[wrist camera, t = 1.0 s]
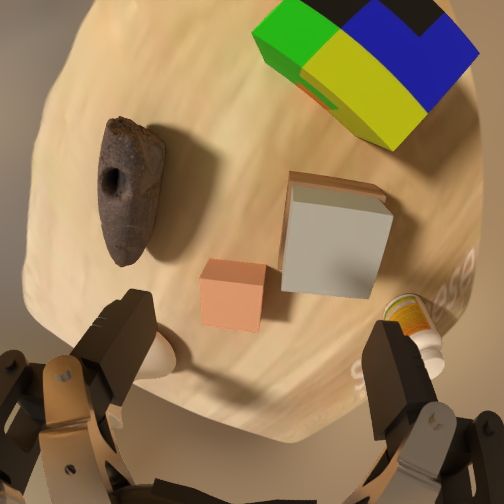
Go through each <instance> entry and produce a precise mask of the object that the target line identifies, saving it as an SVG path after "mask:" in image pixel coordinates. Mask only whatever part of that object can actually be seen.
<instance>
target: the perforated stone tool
mask: <svg viewBox="0 0 504 504" xmlns="http://www.w3.org/2000/svg"><path fill="white" fill-rule="evenodd" d="M164 161H165V147H164V141H163V140H161V139H160V138H158V136H157V135H155V134H153V133H152V132H150V131H149V130H147V129H145V128H144V127H143V126H141V125H137V124H136V123H135V122H133V121H132V120H131V119H127V118H124V117H121V116H119V117H118V118H116V119H114V118H112V119H109V120H108V121H107V124H106V128H105V132H104V136H103V141H102V145H101V151H100V157H99V166H98V206H99V214H100V219H101V222H102V225H101V226H102V231H103V236H104V239H105V243H106V246H107V249H108V251H109V254H110V256H111V257H112V259H113V260H114V261H115V263H116V264H117V265H118V266H120V267H124V266H127V265H132V264H134V263H135V262H136V261H137V260H138V259H139V258H140V256H141V255H142V253H143V251H144V249H145V247H146V245H147V243H148V241H149V239H150V236H151V233H152V230H153V226H154V222H155V217H156V212H157V206H158V199H159V193H160V187H161V175H162V172H163V168H164Z"/></svg>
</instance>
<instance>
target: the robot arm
mask: <svg viewBox="0 0 504 504" xmlns="http://www.w3.org/2000/svg"><path fill="white" fill-rule="evenodd" d="M156 333H157V321H156V316H155V310H154V303H153V297H152V294H151V293H150V292H148V291H142V290H137V289H129V290H128V291H127V293H126V294H125V295H124V297H123V298H122V299H121V300H115V301H114V302H112V303H110V304H109V305H107V306H106V307H105V308H104V309H103V311H102V312H101V313H100V314H99V316H98V318H96V320H95V321H94V322H93V323H92V326H90V327H89V329H88V330H87V331H86V333H85V334H84V335H83V337H82V338H81V340H80V341H79V342H78V344H77V345H76V346H75V348H74V349H73V351H72V352H71V353H70V354H69V355H60V356H57V357H54V358H53V359H51V360H50V361H49V362H48V363H47V364H37V363H28V361H27V359H26V358H25V356H24V354H23V353H22V352H20V351H18V350H10V351H6V352H5V353H3V354H2V355H1V356H0V504H26V503H25V500H24V498H23V494H24V492H25V489H26V486H27V483H28V481H29V478H30V476H31V473H32V471H33V468H34V465H35V463H36V461H37V459H38V456H39V454H40V452H41V455H42V461H43V467H44V471H45V476H46V481H47V485H48V489H49V493H50V497H51V501H52V504H231V503H228V502H225V501H223V500H220V499H218V498H215V497H213V496H210V495H208V494H206V493H203V492H201V491H199V490H197V489H194V488H191V487H187V486H182V485H179V484H174V483H170V482H167V481H163V480H160V479H157V478H155V481H154V484H139V485H135V483H134V481H133V478H132V476H131V474H130V472H129V470H128V468H127V466H126V464H125V463H124V461H123V459H122V457H121V454H120V451H119V448H118V445H117V443H116V439H115V436H114V433H113V429H112V426H111V423H110V419H109V416H108V413H107V409H108V407H109V405H110V404H113V405H116V406H119V407H121V406H122V404H123V402H124V400H125V398H126V396H127V393H128V391H129V389H130V387H131V385H132V383H133V381H134V379H135V377H136V375H137V373H138V371H139V369H140V367H141V365H142V363H143V361H144V359H145V357H146V355H147V353H148V351H149V349H150V347H151V346H152V344H153V342H154V340H155V337H156ZM421 357H422V356H421V353H420V351H419V349H418V346H417V345H416V343H415V342H414V341H413V340H412V339H411V338H410V337H409V336H408V335H404V333H403V331H402V328H401V326H400V324H399V322H398V321H388V320H378V321H377V322H376V323H375V325H374V327H373V330H372V332H371V334H370V336H369V339H368V341H367V343H366V345H365V348H364V350H363V353H362V361H361V362H362V370H363V375H364V380H365V385H366V391H367V396H368V402H369V407H370V414H371V420H372V426H373V432H374V440H375V441H377V440H386V443H387V446H386V447H385V448H384V449H383V451H382V453H381V454H380V456H379V457H378V459H377V460H376V462H375V463H374V465H373V467H372V468H371V469H370V471H369V472H368V474H367V475H366V477H365V478H364V480H363V481H362V482H361V484H360V485H359V486H358V488H357V489H356V490H355V491H354V492H353V493H352V494H351V495H350V496H349V497H348V498H347V499H346V500H345V501H344V502H343V503H342V504H434V502H435V504H504V424H503V422H502V420H501V418H500V417H499V416H498V415H497V414H496V413H494V412H492V411H484V412H482V413H480V414H479V415H478V416H477V417H476V418H475V419H474V420H472V419H466V418H459V417H456V416H455V414H454V412H453V410H452V409H451V408H450V407H449V406H448V405H446V404H444V403H442V402H438V400H437V397H436V394H435V391H434V388H433V385H432V383H431V380H430V377H429V374H428V371H427V369H426V368H425V364H424V361H423V359H421ZM16 403H18V404H19V405H20V406H21V407H20V409H19V411H18V413H17V414H16V416H15V418H14V420H13V422H12V424H11V425H10V427H9V429H8V432H7V433H6V434H5V432H4V426H5V423H6V421H7V419H8V417H9V415H10V414H11V412H12V410H13V408H14V406H15V405H16ZM471 464H473V469H474V475H475V481H476V493H475V496H474V497H472V490H471V483H470V476H469V470H468V466H469V465H471ZM246 504H317V500H271V501H264V502H255V503H246Z"/></svg>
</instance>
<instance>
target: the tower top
mask: <svg viewBox="0 0 504 504" xmlns="http://www.w3.org/2000/svg"><path fill="white" fill-rule="evenodd" d="M393 217H394V216H393V215H392V213H391V212H390V211H389V210H388V209H387V208H386V207H385V206H384V205H383V203H382V202H381V201H380V200H379V199H378V198H374V197H368V196H362V195H356V194H350V193H343V192H336V191H330V190H322V189H315V188H307V187H299V186H292V193H291V202H290V210H289V218H288V226H287V234H286V242H285V250H284V257H283V265H282V284H281V291H288V292H297V293H307V294H316V295H327V296H337V297H348V298H360V299H369V297H370V294H371V291H372V288H373V285H374V282H375V279H376V276H377V273H378V270H379V267H380V263H381V260H382V257H383V253H384V250H385V247H386V243H387V239H388V236H389V232H390V228H391V224H392V221H393Z"/></svg>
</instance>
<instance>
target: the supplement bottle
mask: <svg viewBox="0 0 504 504" xmlns="http://www.w3.org/2000/svg"><path fill="white" fill-rule="evenodd" d="M383 319H384V320H388V321H398V322H399V324H400V326H401V328H402V331H403V333H404V335H408V336H409V337H410V338H411V339H412V340H413V341H414V342H415V343H416V345H417V346H418V349H419V351H420V353H421V356H422V357H421V359H423V361H424V364H425V368H426V369H427V371H428V374H429V377H430V380H432V379H433V378H435V377H436V376H437V375H438V374H440V373H441V371H442V370H443V368H444V366H445V361H444V358H443V356H442V353H441V352H440V351H441V348H442V339H441V336H440V334H439V332H438V330H437V328H436V326H435V324H434V322H433V320H432V318H431V316H430V314H429V312H428V310H427V308H426V306H425V305H424V303H423V301H422V300H421V298H420V297H418V296H417V295H414V294H405V295H401V296H399V297H397V298H395V299H394V300H392V301H391V302H390V303H389V304H388V306H387V307H386V309H385V311H384V315H383Z"/></svg>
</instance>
